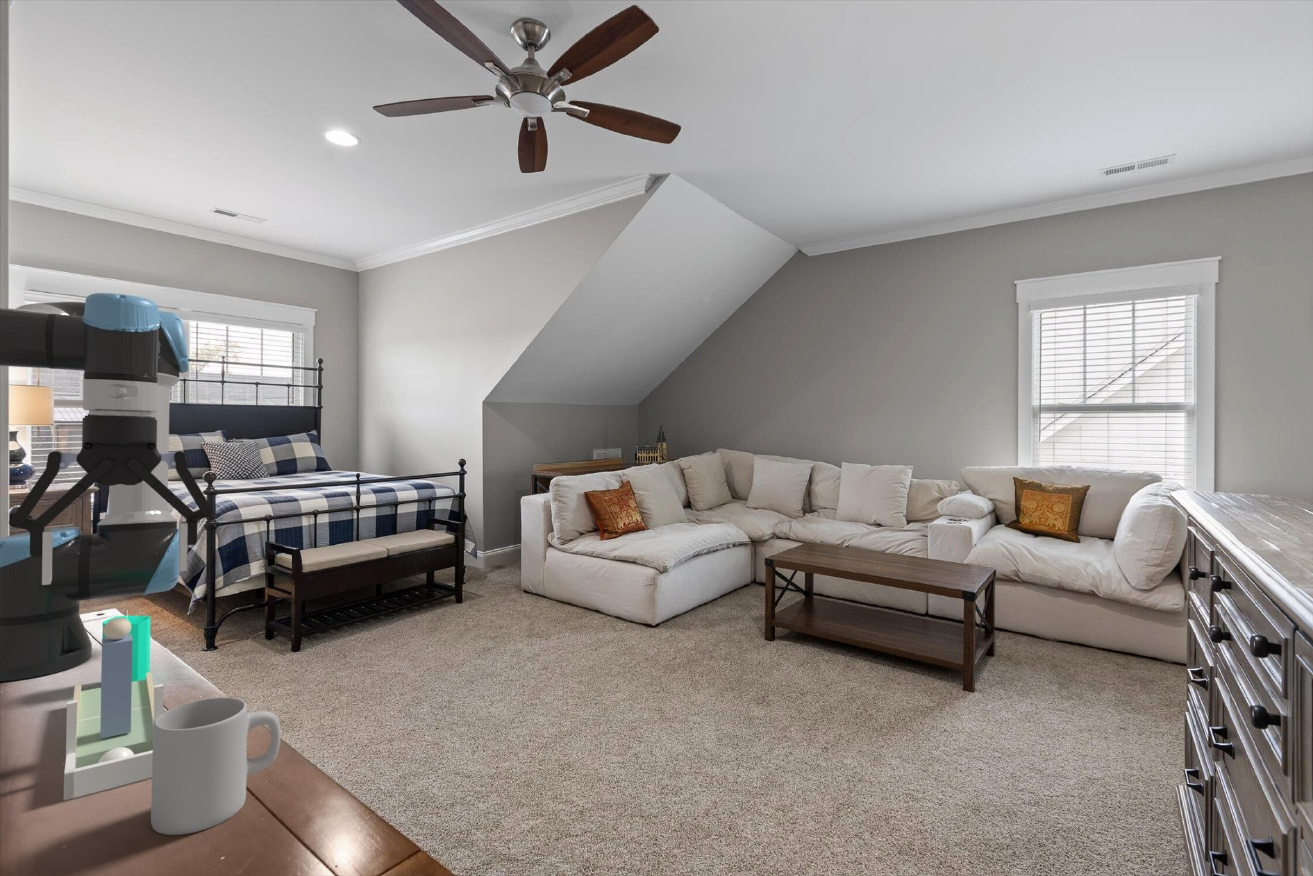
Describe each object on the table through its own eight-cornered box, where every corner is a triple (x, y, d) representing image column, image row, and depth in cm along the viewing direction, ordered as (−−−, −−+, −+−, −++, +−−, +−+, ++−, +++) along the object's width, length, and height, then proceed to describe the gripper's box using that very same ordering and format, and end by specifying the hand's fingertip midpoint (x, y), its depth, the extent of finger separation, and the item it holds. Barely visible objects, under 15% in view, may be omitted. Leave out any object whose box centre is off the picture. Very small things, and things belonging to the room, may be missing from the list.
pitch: (74, 705, 96) (75, 685, 96) (151, 690, 101) (151, 672, 101) (66, 776, 77) (66, 751, 77) (161, 753, 83) (161, 730, 82)
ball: (96, 790, 75) (97, 763, 77) (134, 780, 77) (134, 754, 80) (96, 773, 74) (97, 746, 76) (135, 763, 76) (135, 737, 78)
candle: (92, 687, 102) (94, 612, 102) (135, 674, 108) (136, 603, 108) (115, 693, 100) (117, 617, 100) (157, 680, 106) (159, 608, 106)
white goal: (66, 776, 77) (67, 701, 77) (161, 753, 83) (163, 683, 82) (63, 801, 72) (64, 721, 72) (165, 774, 78) (166, 700, 78)
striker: (100, 730, 84) (102, 617, 83) (130, 723, 85) (132, 613, 85) (100, 738, 81) (102, 622, 81) (130, 732, 83) (132, 618, 83)
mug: (156, 847, 64) (158, 738, 64) (145, 810, 70) (147, 711, 70) (289, 801, 73) (291, 705, 73) (269, 771, 79) (271, 683, 79)
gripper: (-22, 410, 73) (-24, 595, 73) (238, 417, 89) (235, 569, 89) (-12, 410, 78) (-15, 582, 79) (230, 417, 95) (227, 560, 95)
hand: (118, 575), depth 84 cm, fingers open, 13 cm apart
